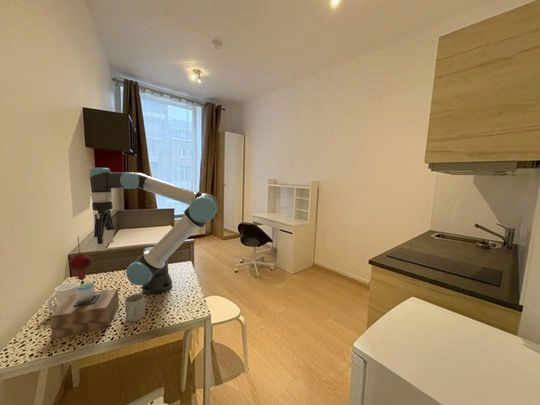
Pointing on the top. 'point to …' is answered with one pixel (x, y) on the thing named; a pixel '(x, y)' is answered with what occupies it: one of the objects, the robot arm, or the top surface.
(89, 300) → the peg
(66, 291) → the mug
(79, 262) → the lantern
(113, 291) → the socket block
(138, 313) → the cup
